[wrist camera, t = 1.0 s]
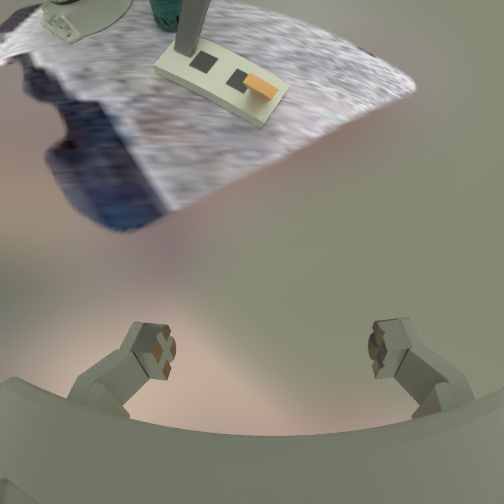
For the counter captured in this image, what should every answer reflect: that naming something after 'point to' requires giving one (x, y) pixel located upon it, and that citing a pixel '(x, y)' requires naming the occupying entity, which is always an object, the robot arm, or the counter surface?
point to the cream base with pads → (221, 79)
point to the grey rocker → (190, 25)
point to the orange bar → (260, 87)
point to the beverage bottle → (167, 13)
